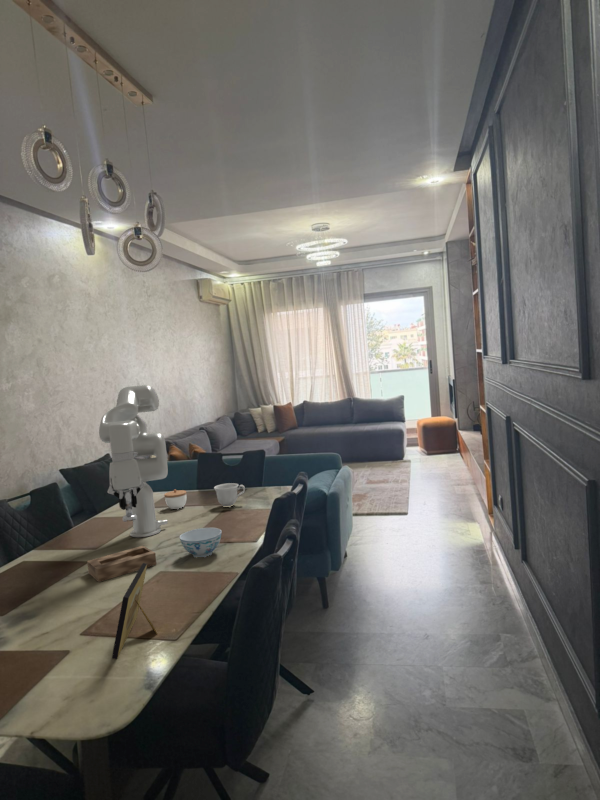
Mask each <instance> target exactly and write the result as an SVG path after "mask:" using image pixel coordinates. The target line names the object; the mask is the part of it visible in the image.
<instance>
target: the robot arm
mask: <svg viewBox="0 0 600 800" xmlns="http://www.w3.org/2000/svg"><path fill="white" fill-rule="evenodd" d="M159 400H160V399H159V395H158V394H157V392H156V390H155V389H154V388H153V386H151V385H147V384H145V385H144V384H143V385H142V384H141V385H134V386H125V387H123V388H121V389H120V391H119V392H118V395H117V399H116V406H114V407H113V408H111V409H109V410H108V411H107V412H105V413H104V414H103V416H102V417H101V420H100V423H99V427H98V435H99V438H100V440H101V442H103V443H106V444H109V443H110V451H111V460H112V461H111V462H109V475H108V476H109V487H108V489H107V490H106V491H107V493H108V494H110V495H112V496H115V498H118V505H119V508H120V509H121V510H123V511H124V510H125V511H126V507H125V499H124V498H123V491H125V490H131V491H132V500H133V507H132V514H136V515H137V519H136V520H133V521H132V526H133V530H131V531H130V532H129V535H130V537H132V538H145V537H146V538H147V537H151V536H155V535H156V534H159V533H160V532H161V530H162V529H161V526H164V525H167V524H168V520H167V519H163V520H162V519H159V520H157V518H156V508H155V498H154V491H153V489H152V487H151V486H150V485H149V484H148V483H147V482H149V481H151V482H153V481H158V480H160V481H161V480H164V479H166V478H167V476H168V472H169V470H168V457H167V456H168V455H167V453H168V452H167V445H166V444H167V443H166V439H165V436H164V435H163V434H162V433H160V432H152V433H148V430H147V423H146V421H145V420H144V419H143V418H142V417H141V416H140V415H138V414H141V413H150V412H155V411H157V410H158V409H159V406H160V401H159ZM151 456H155V457H151ZM141 457H147V458H141ZM136 458H138V459H136Z"/></svg>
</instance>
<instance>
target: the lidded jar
mask: <svg viewBox="0 0 600 800" xmlns="http://www.w3.org/2000/svg"><path fill="white" fill-rule="evenodd" d="M163 496H164V500H165V504H166V506H167V507H168V508H169V509H170V510H171V509H177V510H180V509H179V508H181V509H183V508H184V506H185V505H186V503H187V499H188V498H187V491H186V490H184V489H182V490H180V489H179V490H177V489H176V488H175V489H173V490H172V491H168V492H166V493H164V495H163ZM182 507H183V508H182Z"/></svg>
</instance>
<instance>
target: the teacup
mask: <svg viewBox="0 0 600 800" xmlns="http://www.w3.org/2000/svg"><path fill="white" fill-rule="evenodd" d="M241 488H242V489H243V490H242V491H241V492H239V493H238V491H239V490H240V489H241ZM213 489H214V490H215V493H216V497H217V501H218V504H219V505H220V504H221V505H222V506H231V505H233V504H234V505H235V503H236V502H237V500H238V498H239V496H241V495H243V494H244V493H245V491H246V488H245V485H243V484H240V485H239V483H236V482H235V483H234V482H233V483H232V482H231V483H230V482H228V483H221V484H217V485H215V486H214V487H213Z"/></svg>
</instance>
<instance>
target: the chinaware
mask: <svg viewBox="0 0 600 800" xmlns="http://www.w3.org/2000/svg"><path fill="white" fill-rule="evenodd" d="M221 538H222V529H220V528H217V527H201V528H200V527H199V528H195V529H191V530H188V531H186V532H183V533H182V534H180V535H179V541H180V543H181V545H182V547H183V548H184V550H185V551H187V552H188V553H189V554H192V556H193V557H194V558H195V557H204V558H207V557H206V556H208V557H210V556H212V555H213V551H214V550H216V549H217V547H218V546H219V544H220V542H221ZM209 555H210V556H209Z"/></svg>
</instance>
